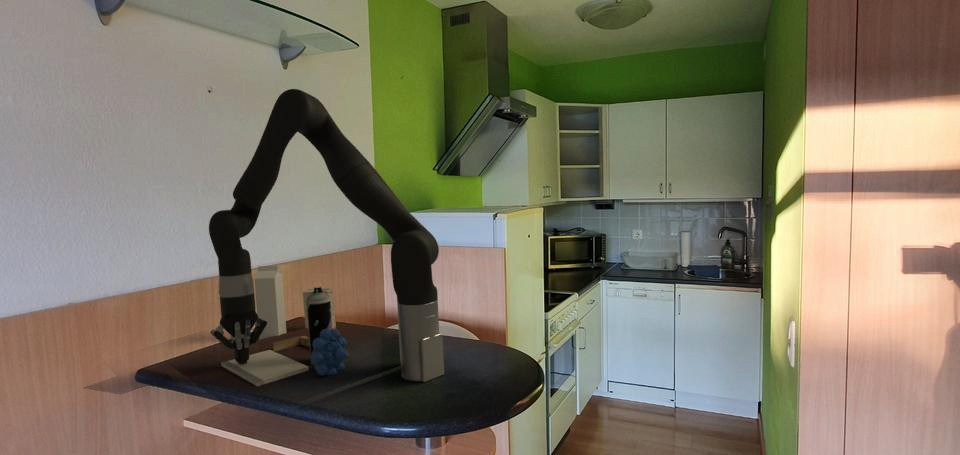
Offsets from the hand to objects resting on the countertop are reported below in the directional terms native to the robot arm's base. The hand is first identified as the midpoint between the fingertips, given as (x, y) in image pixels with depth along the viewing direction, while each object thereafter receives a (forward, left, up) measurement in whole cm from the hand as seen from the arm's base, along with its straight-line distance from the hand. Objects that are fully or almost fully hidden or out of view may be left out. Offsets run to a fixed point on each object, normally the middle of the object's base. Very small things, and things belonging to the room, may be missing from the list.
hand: (242, 362), depth 120 cm
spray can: (-13, -14, -3) cm, 19 cm away
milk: (+24, -18, -3) cm, 30 cm away
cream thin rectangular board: (-5, -9, -1) cm, 10 cm away
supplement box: (+19, -31, -3) cm, 36 cm away
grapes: (-22, -12, -3) cm, 25 cm away
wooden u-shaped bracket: (-5, -14, -2) cm, 15 cm away
